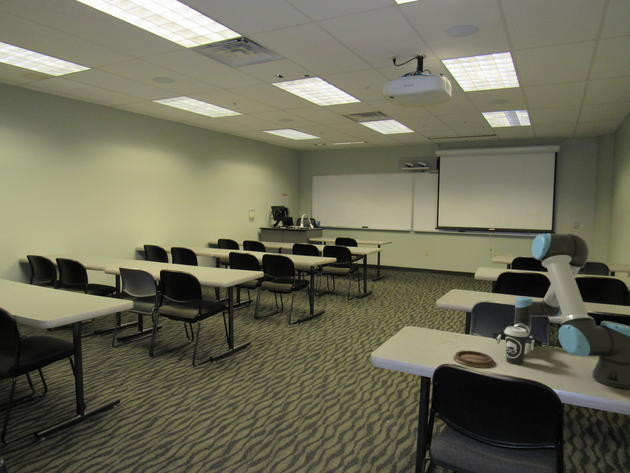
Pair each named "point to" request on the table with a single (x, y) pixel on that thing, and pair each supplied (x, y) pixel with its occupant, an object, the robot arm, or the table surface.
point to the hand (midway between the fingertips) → (514, 344)
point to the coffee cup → (515, 344)
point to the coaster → (474, 359)
